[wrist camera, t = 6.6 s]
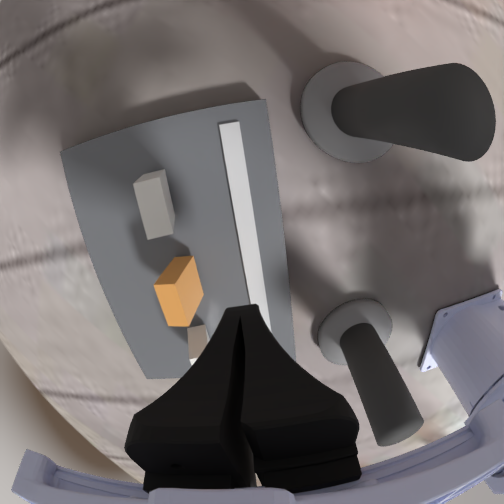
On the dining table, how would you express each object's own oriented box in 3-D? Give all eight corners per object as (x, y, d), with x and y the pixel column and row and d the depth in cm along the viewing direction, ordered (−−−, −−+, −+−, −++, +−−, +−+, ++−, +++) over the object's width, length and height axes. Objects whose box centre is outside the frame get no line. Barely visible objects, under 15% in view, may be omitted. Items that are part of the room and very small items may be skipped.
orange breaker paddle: (193, 255, 16) (174, 284, 13) (203, 294, 17) (188, 326, 15) (174, 257, 16) (153, 284, 14) (185, 295, 17) (168, 326, 15)
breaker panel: (263, 101, 15) (266, 98, 13) (293, 351, 22) (296, 366, 21) (72, 148, 15) (58, 152, 13) (150, 366, 22) (146, 380, 21)
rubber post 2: (391, 291, 20) (458, 387, 11) (382, 348, 23) (428, 438, 14) (317, 307, 20) (359, 423, 11) (317, 363, 23) (346, 466, 14)
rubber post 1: (386, 66, 14) (506, 42, 5) (396, 157, 16) (515, 203, 7) (293, 65, 14) (362, -1, 5) (307, 165, 16) (388, 219, 7)
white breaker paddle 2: (204, 324, 18) (209, 355, 16) (213, 352, 20) (219, 383, 17) (187, 328, 18) (189, 359, 16) (197, 355, 19) (201, 387, 17)
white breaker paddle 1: (164, 168, 14) (159, 176, 12) (175, 215, 15) (173, 233, 13) (143, 174, 14) (132, 183, 11) (154, 220, 15) (147, 239, 12)
